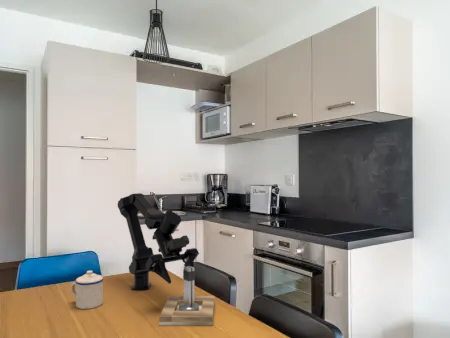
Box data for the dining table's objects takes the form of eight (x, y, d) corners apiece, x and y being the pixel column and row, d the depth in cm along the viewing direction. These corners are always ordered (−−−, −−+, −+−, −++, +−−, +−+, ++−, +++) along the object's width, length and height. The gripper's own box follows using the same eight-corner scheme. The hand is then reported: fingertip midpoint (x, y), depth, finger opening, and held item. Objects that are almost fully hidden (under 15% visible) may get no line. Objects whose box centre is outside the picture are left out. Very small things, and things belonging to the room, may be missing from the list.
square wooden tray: (169, 303, 121) (169, 295, 121) (214, 303, 121) (214, 296, 121) (159, 325, 103) (159, 317, 103) (212, 325, 103) (212, 317, 103)
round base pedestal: (175, 309, 112) (175, 266, 113) (191, 305, 116) (191, 263, 117) (186, 316, 107) (186, 271, 108) (202, 310, 111) (202, 267, 112)
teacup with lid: (108, 301, 123) (108, 268, 123) (91, 311, 114) (91, 275, 114) (80, 297, 126) (80, 266, 126) (62, 307, 117) (62, 272, 118)
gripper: (149, 231, 114) (166, 272, 105) (196, 225, 126) (214, 262, 117) (139, 250, 120) (154, 291, 111) (184, 243, 131) (200, 279, 123)
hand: (182, 280), depth 115 cm, fingers open, 9 cm apart
